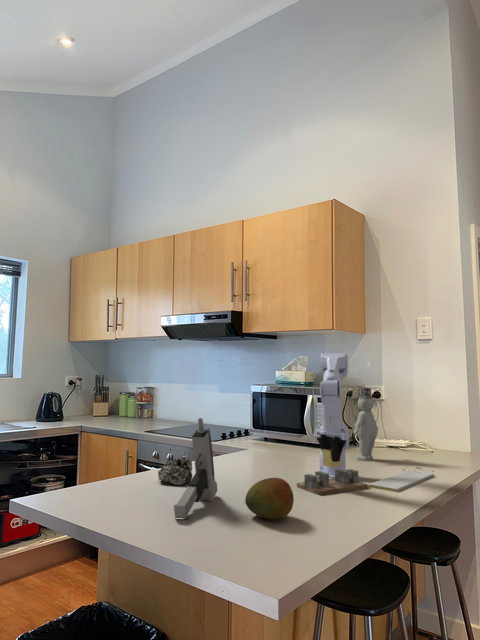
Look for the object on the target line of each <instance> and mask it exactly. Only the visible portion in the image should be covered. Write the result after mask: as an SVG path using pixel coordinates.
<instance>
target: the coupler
mask: <svg viewBox="0 0 480 640" xmlns="http://www.w3.org/2000/svg"><path fill="white" fill-rule="evenodd" d="M323 465H325V466H328V467H337V466H341V457H340V461H338V462H333V458H332V449H331V448H330V449H323Z"/></svg>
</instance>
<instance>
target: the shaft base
mask: <svg viewBox="0 0 480 640" xmlns="http://www.w3.org/2000/svg"><path fill="white" fill-rule="evenodd" d="M303 478H304V479H303V480H304V481H302V482H297V483H296V487H297V488H298V489H301V490H305V491H307V492H310V493H312V494H315V495H318V496H325V495H326V496H327V495H332V494H338V493H345V492H346V493H347V492H350V491H351V492H352V491H357V490H358V491H359V490H360V491H361V490H365V489H369V487H368V484H369V483H368V484H367V483H364V482H360V481H359V470H356V469H354V468H353V469H351V468H350V469H349V468H348V469H346V470H342V469H335V478H333V477H331V478H330V477H329V474H328V473H325V472H321V471H319V470H317V471H315V472H314V474H311V473H307V474H304V477H303Z"/></svg>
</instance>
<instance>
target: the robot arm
mask: <svg viewBox="0 0 480 640" xmlns="http://www.w3.org/2000/svg"><path fill="white" fill-rule="evenodd" d="M320 368H321V374H322V376H323V379H322V381H320V385H319V392H320V399H321V400H320V402H321V416H322V417H321V419H322V421H321V425H322V426H321V428H315V429H314V434H315V436H318V437H316V441H317V442H318V444H319V446H320V448H321V451H320V452H319V454H318V457H319V459H318V460H319V461H318V463H319V464H318V465H319V466H318V467H319V470H318V471H321V472H325V473H328V474H329V478H335V469H342V470H347V469H346V467H347V466H346V450H348V449H349V447H350V433H349V428H348V425H346V424H345V423H343V421H342V401H341V400H342V398H341V397H342V382H343V379H345V378H346V377H348V372H349V371H348V370H349V369H348V368H349V358H348V353H347V352H342V353H341V352H338V353H335V352H332V353H328V352H327V353H326V352H325V353H324V352H322V353H321V354H320ZM330 448H331V449H332V458H333V462H338V461H340V457H341V466H337V467H328V466H325V465H323V449H330Z"/></svg>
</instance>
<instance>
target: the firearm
mask: <svg viewBox="0 0 480 640" xmlns="http://www.w3.org/2000/svg"><path fill="white" fill-rule="evenodd" d="M197 422H198V424H197V425H198V426H197V427H198V428H197V430H195V431H194V432H193V433H192V435H191V440H192V450H193V459H194V469H195V470H194V471H195V473H194V475H192V479H191V481H190V482H188V483H187V487H186V489H185V491H183V494H182V496H181V497H180V499H179V500H178V501H177V503H176V504H174V505H173V511H174V518H183V519H188V517H187V516H188V515H189V512H191V509H192V508H193V506H194V504H195V503H199V502H200V501H204V500H212V501H213V500H214V499H215V496H216V494H217V493H218V482H216V479H215V466H214V465H215V464H214V454H213V446H212V445H213V443H212V442H213V441H212V437H211V435H212V434H211V429H210V427H207V428H205V427H204V418H202V417H199V418H198V419H197Z"/></svg>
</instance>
